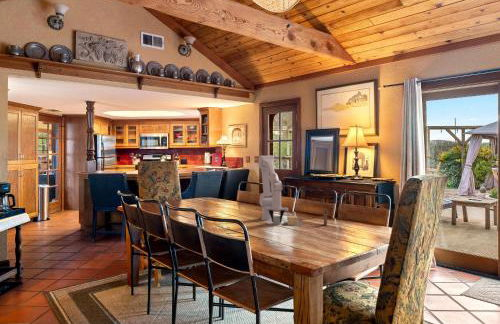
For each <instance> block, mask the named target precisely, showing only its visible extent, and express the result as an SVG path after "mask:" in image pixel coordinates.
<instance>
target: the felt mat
mask: <svg viewBox="0 0 500 324" xmlns="http://www.w3.org/2000/svg"><path fill="white" fill-rule="evenodd" d="M297 222H298V223H297V225H288V221H283V223H282V225H281V226H282V227H283V226H284V227H302V226H303V222H302V221H300V222H299V221H297Z"/></svg>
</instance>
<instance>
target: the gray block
mask: <svg viewBox="0 0 500 324" xmlns="http://www.w3.org/2000/svg"><path fill="white" fill-rule="evenodd" d="M281 223H282V222H280V215H273V222H272V225H274V226H275V225H276V226H277V225H281Z"/></svg>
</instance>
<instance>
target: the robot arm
mask: <svg viewBox="0 0 500 324" xmlns="http://www.w3.org/2000/svg"><path fill="white" fill-rule="evenodd" d="M274 163H275V156H274V155H259V156H258V168H259V169H260V171H261V180H262V182H261V183H262V191H263V192H262V193H261V194H260V195H259V205H260V206H261V212H262V213H261V214H262V215H261V216H262V217H261V221H271V222H272V223H273V216H274V212H275V211H276V212H279V213H280V214H279V216H280V222H281V223H282V220H283V216H284V214H285V212H288V211H289V207H283V206H282V191H283V190H284V188H283V187H284V186H283V182H282V181H281V180H280V178H279V176H278V173H276V171H275V168H274Z"/></svg>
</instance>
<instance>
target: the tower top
mask: <svg viewBox="0 0 500 324" xmlns="http://www.w3.org/2000/svg"><path fill="white" fill-rule="evenodd" d="M286 220H287V222H288V221H297V222H299V217H298V215H287V217H286Z"/></svg>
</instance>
